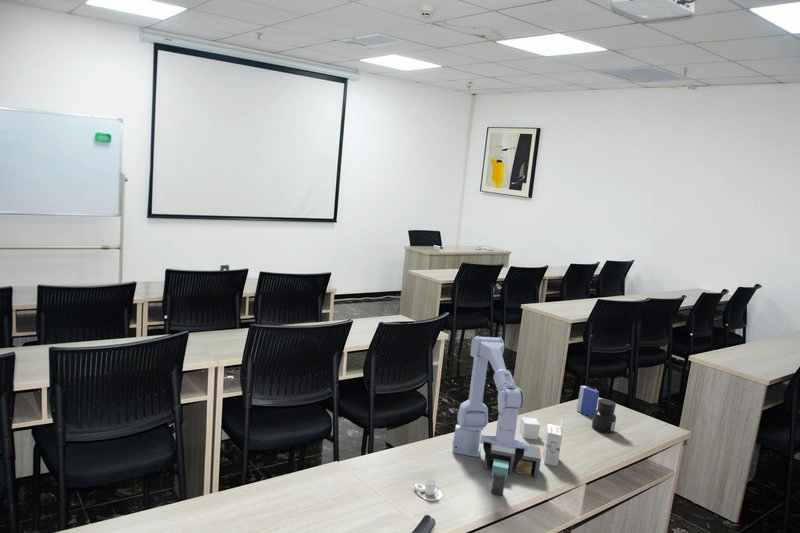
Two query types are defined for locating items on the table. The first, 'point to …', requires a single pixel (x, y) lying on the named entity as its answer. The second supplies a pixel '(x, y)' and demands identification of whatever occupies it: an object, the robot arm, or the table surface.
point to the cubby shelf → (509, 454)
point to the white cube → (529, 428)
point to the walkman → (587, 400)
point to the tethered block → (499, 476)
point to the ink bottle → (604, 416)
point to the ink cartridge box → (552, 444)
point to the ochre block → (524, 466)
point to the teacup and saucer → (429, 489)
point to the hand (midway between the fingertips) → (500, 468)
